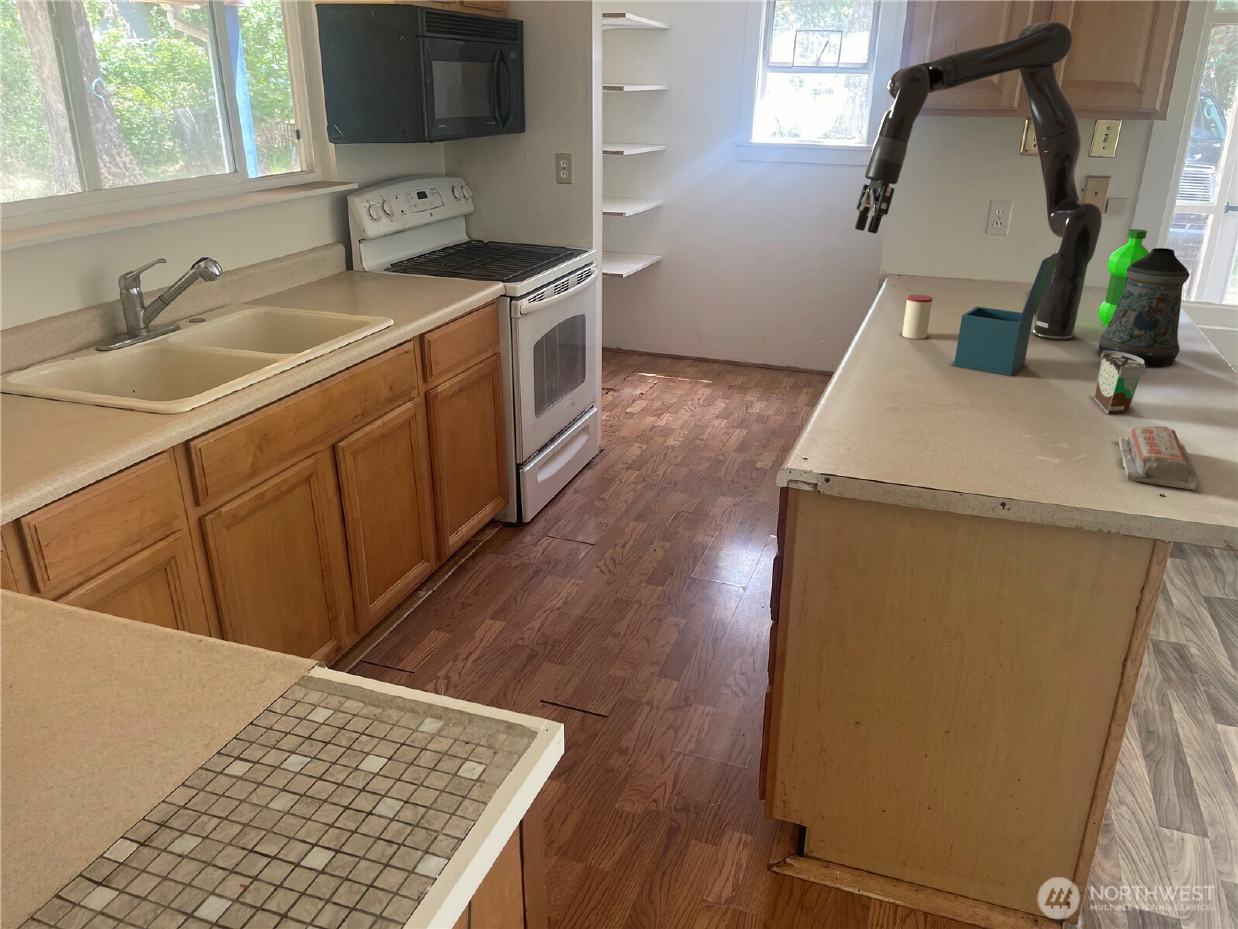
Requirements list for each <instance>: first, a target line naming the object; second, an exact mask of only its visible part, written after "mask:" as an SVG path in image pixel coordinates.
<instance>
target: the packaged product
mask: <svg viewBox="0 0 1238 929" xmlns="http://www.w3.org/2000/svg"><path fill="white" fill-rule="evenodd" d="M1128 436H1129V437H1127V438H1123V437H1119V440H1118V444H1119V448H1120V450H1121V451H1120V452H1121V456H1122V466H1123V468H1124V470H1125V474H1126V477H1127V480H1128V481H1134V482H1140V483H1146V484H1147V483H1148V484H1152V485H1159V486H1165V487H1173V488H1177V489H1178V488H1179V489H1185V490H1186V489H1187V490H1193V491H1196V489H1197V486H1198V484H1199V481H1198V478H1197V475H1196V472H1195V470H1194V468H1193V465H1192V463H1191V460H1190V458H1189V455H1188V452H1187V449H1186V447H1185V444H1184V443H1181V442H1180V439H1179V437H1178V435H1177V433H1176V430H1175V429H1171V428H1169V427H1168V426H1165V425H1163V426H1162V425H1156V426H1145V427H1136V428H1132V429H1131V431H1130V432H1129V435H1128Z"/></svg>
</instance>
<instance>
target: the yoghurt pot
mask: <svg viewBox="0 0 1238 929" xmlns="http://www.w3.org/2000/svg"><path fill="white" fill-rule="evenodd" d="M932 302H933V297H932V296H930V295H925V294H909V295H907V296H906V304H905V311H904V319H903V328H902V332H901V333H902V337H904V338H907V339H912V340H923V339H926V338H927V337H928V330H929V323H930V318H931V317H930V316H931V309H932Z"/></svg>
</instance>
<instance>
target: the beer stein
mask: <svg viewBox="0 0 1238 929" xmlns="http://www.w3.org/2000/svg"><path fill="white" fill-rule="evenodd" d="M1127 277H1128V279H1127V283H1126V286H1125V288H1124V290H1123V293H1122V295H1121V298H1120V300H1119V302H1118V305H1117V307H1116V309H1115V312H1114V314H1113V316H1112V319H1111V321H1110V323H1109V324H1108V326H1106V328H1105V330H1104V332H1103V333H1102V334H1101V335H1100V337H1099V340H1098V355H1099V356H1100V357H1101V356H1102V353H1103V350H1108V351H1117V352H1123V353H1127V354H1131V355H1134V356H1137V357H1139V358H1141V359H1143V360H1144V364H1145V368H1165V367H1171V366H1172V365H1173V364H1174V362H1175V360H1176V358H1177V357H1178V355H1179V353H1180V351H1181V349H1180V344H1179V339H1178V338H1179V324H1180V317H1181V316H1180V315H1181V309H1182V308H1181V307H1182V298H1183V297H1182V296H1183V288H1184V287H1183V286H1184V284H1185V283H1186V282H1187V281H1188V279H1189V277H1190V272H1189V270H1188V268H1187V267H1186V266H1185V265H1184V264H1183V263H1182V262H1181V261H1180V260H1179V259H1178V258H1177V256H1176V255H1175V250H1174V249H1171V248H1166V247H1164V248H1163V247H1157V248H1155V247H1154V248H1152V249H1151V251H1149V254H1148V255H1146V256H1144V257H1143V258H1141V259H1139V260H1138V261H1136V262H1134V263H1133V264H1131V265H1130V266H1129V267H1128V268H1127Z"/></svg>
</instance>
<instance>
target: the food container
mask: <svg viewBox="0 0 1238 929" xmlns="http://www.w3.org/2000/svg"><path fill="white" fill-rule="evenodd" d="M1100 360H1101V361H1100V366H1099V371H1098V375H1097V381H1096V387H1095V392H1094V397H1093V399H1094V401H1096V403H1097V404H1098V405H1099V406H1100V407H1101V408H1102V409H1103V410H1104V411H1105V413H1106V414H1107V415H1122V414H1125V413H1128V412H1129V411H1130V409H1131V408H1130V407H1131V405H1132V403H1133V399H1134V396H1135V393H1136V390H1137V387H1138V384H1139V381H1140V378H1141V377H1142V376H1144V375H1146V367H1145V364H1144V360H1143V359H1141V358H1139V357H1137V356H1134V355H1131V354H1127V353H1123V352H1117V351H1108V350H1103V353H1102V356H1100Z"/></svg>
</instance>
